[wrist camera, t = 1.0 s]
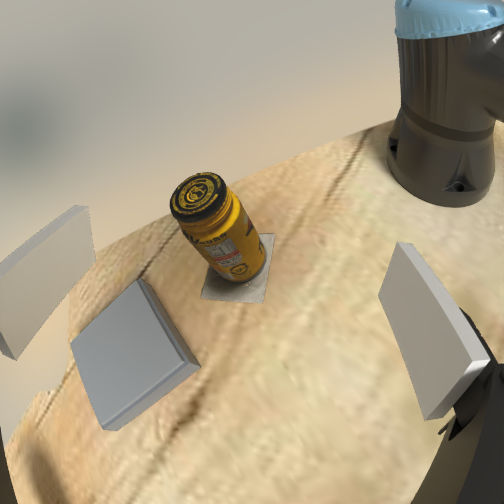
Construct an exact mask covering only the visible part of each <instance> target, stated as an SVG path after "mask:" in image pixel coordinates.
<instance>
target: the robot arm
mask: <svg viewBox="0 0 504 504" xmlns="http://www.w3.org/2000/svg"><path fill="white" fill-rule="evenodd" d="M395 15H396V28H395V34H396V36H397V42H398V53H399V67H400V85H401V108H400V110H399V113H398V115H397V118H396V120H395V123H394V125H393V127H392V130H391V132H390V135H389V138H388V143H387V160H388V165H389V168H390V170H391V172H392V174H393V175H394V177H395V178H396V179H397V181H398V182H399V183H400V184H401V185H402V186H403V187H404V188H405V189H406V190H408V191H409V192H410V193H412V194H413V195H415V196H417V197H418V198H420V199H422V200H424V201H427V202H429V203H432V204H435V205H439V206H444V207H454V208H455V207H466V206H470V205H472V204H475V203H477V202H478V201H480V200H481V199H482V198H483V197H484V196H485V195H486V194H487V192H488V190H489V188H490V185H491V183H492V180H493V177H494V172H495V158H494V142H493V130H494V125H495V121H496V120H498V121H501V122H503V123H504V2H503V1H501V0H396V1H395ZM95 262H96V257H95V252H94V245H93V239H92V232H91V225H90V217H89V208H88V206H77V205H75V206H73V207H72V208H70V209H69V210H68V211H66V212H65V213H63V214H62V215H60V216H59V217H58V218H56V219H55V220H54V221H52V222H51V223H50V224H48V225H47V226H45V227H44V228H43V229H41V230H40V231H39V232H37V233H36V234H35V235H34V236H32V237H31V238H30V239H28V240H27V241H26V242H25V243H23V244H22V245H21V246H20V247H19V248H17V249H16V250H15V251H14V252H12V254H10V255H9V256H8V257H6V258H5V259H4V260H3V261H2V262H1V263H0V350H1V352H2V353H3V355H5V356H7V357H9V358H11V359H14V360H16V361H17V359H18V357H19V356H20V355H21V353H22V352H23V351H24V349H25V348H26V347H27V345H28V344H29V342H30V341H31V340H32V338H33V337H34V335H35V334H36V333H37V332H38V330H39V329H40V328H41V326H42V325H43V324H44V322H45V321H46V320H47V319H48V317H49V316H50V315H51V314H52V312H53V311H54V310H55V308H56V307H57V306H58V305H59V304H60V302H61V301H62V300H63V299H64V298H65V296H66V295H67V294H68V293H69V292H70V290H71V289H72V288H73V287H74V286H75V284H76V283H77V282H78V281H79V280H80V279H81V278H82V276H83V275H84V274H85V273H86V272H87V271H88V270H89V268H90V267H91V266H92V265H93V264H94V263H95ZM378 297H379V299H380V302H381V304H382V306H383V309H384V311H385V313H386V316H387V318H388V320H389V323H390V325H391V328H392V330H393V333H394V335H395V338H396V340H397V343H398V346H399V348H400V351H401V353H402V356H403V359H404V361H405V364H406V367H407V370H408V372H409V375H410V378H411V381H412V384H413V387H414V390H415V393H416V396H417V399H418V402H419V405H420V408H421V411H422V415H423V418H424V421H425V420H431V419H438V418H443V417H444V416H445V415H446V413H447V412H448V411H449V410H450V409H451V408H452V407H453V408H454V411H455V413H456V414H455V415H454V416H453V417H452V419H451V420H450V421H449V422H448V423H447V424H446V425H445V426H444V427H443V428H442V429H441V430H440V431H439V433H438V434H439V435H441V434H442V433H443V432H444V431H445V430H446V433H445V435H444V438H443V440H442V442H441V445H440V447H439V449H438V452H437V454H436V456H435V458H434V460H433V462H432V464H431V467H430V469H429V471H428V473H427V475H426V477H425V479H424V480H423V482H422V484H421V486H420V488H419V490H418V492H417V493H416V495H415V497H414V499H413V500H412V502H411V504H504V364H498V362H497V360H496V359H495V357H494V355H493V354H492V352H491V350H490V348H489V347H488V345H487V343H486V342H485V340H484V338H483V337H481V334H480V332H479V330H478V329H477V328H476V326H475V324H474V323H473V321H472V320H471V318H470V317H469V316H468V315H467V314H466V313H465V312H464V311H463V310H462V309H461V308H459V307H458V306H457V304H456V303H455V301H454V300H453V298H452V297H451V295H450V294H449V292H448V291H447V290H446V288H445V287H444V285H443V284H442V283H441V281H440V280H439V278H438V277H437V276H436V274H435V273H434V272H433V270H432V269H431V268H430V266H429V265H428V264H427V262H426V261H425V260H424V258H423V257H422V256H421V255H420V253H419V252H418V251H417V249H416V248H415V247H414V246H413V244H409V243H403V242H397V243H396V246H395V249H394V252H393V255H392V258H391V261H390V264H389V267H388V270H387V273H386V275H385V278H384V281H383V284H382V286H381V289H380V292H379V294H378ZM0 504H18V503H17V499H16V496H15V493H14V489H13V486H12V482H11V478H10V474H9V470H8V466H7V461H6V457H5V452H4V447H3V441H2V435H1V428H0Z"/></svg>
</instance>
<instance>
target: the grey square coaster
mask: <svg viewBox="0 0 504 504" xmlns="http://www.w3.org/2000/svg"><path fill="white" fill-rule="evenodd" d="M70 345H71V348H72V352H73V355H74V358H75V361H76V364H77V367H78V370H79V373H80V376H81V379H82V382H83V384H84V387H85V390H86V392H87V395H88V398H89V400H90V403H91V405H92V407H93V410H94V412H95V415H96V417H97V419H98V422H99V424H100V425H101V426H102V429H103V430H110V431H118V430H119V429H120V428H122V427H123V426H125V425H126V424H127V423H129V422H130V421H131V420H133V419H134V418H136V417H137V416H138V415H140V414H141V413H142V412H144V411H145V410H146V409H148V408H149V407H150V406H152V405H153V404H154V403H156V402H157V401H158V400H160V399H161V398H162V397H163V396H165V395H166V394H167V393H169V392H170V391H171V390H173V389H174V388H175V387H176V386H178V385H179V384H180V383H182V382H183V381H184V380H185V379H187V378H188V377H189V376H190V375H192V374H193V373H194V372H195V371H197V370H198V369H199V368H200V367H201V366H200V365H199V363H198V362H197V360H196V358H195V357H194V355H193V354H192V352H191V351H190V349H189V348H188V346H187V345H186V343H185V342H184V340H183V338H182V337H181V335H180V334H179V332H178V330H177V329H176V327H175V326H174V324H173V322H172V321H171V319H170V317H169V316H168V314H167V312H166V311H165V309H164V307H163V306H162V304H161V302H160V301H159V299H158V297H157V295H156V294H155V292H154V290H153V288H152V287H151V286H150V285H149V284H148V283H146V282H145V281H144V280H142V279H141V278H140V279H138V280H136V281H135V282H133V283H132V284H131V285H130V286H129V287H128V288H127V289H126V290H125V291H124V292H123V293H122V294H120V295H119V296H118V297H117V298H116V299H115V300H114V301H113V302H112V303H111V304H110V305H109V306H108V307H107V308H106V309H104V310H103V311H102V312H101V313H100V314H99V315H98V316H97V317H96V318H95V319H94V320H93V321H92V322H91V323H90V324H89V325H88V326H87V327H86V328H85V329H84V330H83V331H82V332H81V333H80V334H79V335H78V336H77V337H76V338H75V339H74V340H73V341H72V342H71V343H70Z"/></svg>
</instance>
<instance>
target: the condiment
mask: <svg viewBox="0 0 504 504" xmlns="http://www.w3.org/2000/svg"><path fill="white" fill-rule="evenodd" d="M170 209H171V213H172V214H173V217H175V219H177V221H178V223H179V224H180V225H181V230H182V232H183V234H184V235H185V237H186V238H187V239H188V240H189V242H190V243H191V244H192V245H193V246H194V247H195V248H196V249H197V250H198V251H199V253H200V254H201V255H202V256H203V257H204V258H205V259H206V261H207V262H208V263H209V264H210V267H209V269H208V273H207V277H206V281H205V285H204V288H203V291H202V295H201V298H203V299H211V300H221V301H233V302H247V303H263V301H264V294H265V290H266V283H267V278H268V272H269V268H270V262H271V256H272V251H273V244H274V239H275V234H258V233H257V232H256V230H255V228H254V226H253V224H252V222H251V220H250V219H249V217H248V215H247V213H246V211H245V210H244V208H243V206H242V204H241V202H240V200H239V199H238V197H237V196H236V195H235V194H234V193H233V192H232V191H230V190H229V188H228V187H227V186H226V184H225V182H224V180H223V179H222V178H221V177H220V176H219V175H217V174H214V173H211V172H210V173H209V172H205V173H197V174H196V175H193V176H191V177H189V178H187V179H186V180H185V181H184V182H183V183H181V184H180V185H179V186H178V187H177V188H176V190H175V191H174V193H173V194H172V197H171V199H170ZM218 274H219V275H218ZM249 282H251V283H250V284H249ZM247 284H249V285H248V286H247V287H246V285H247Z"/></svg>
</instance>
